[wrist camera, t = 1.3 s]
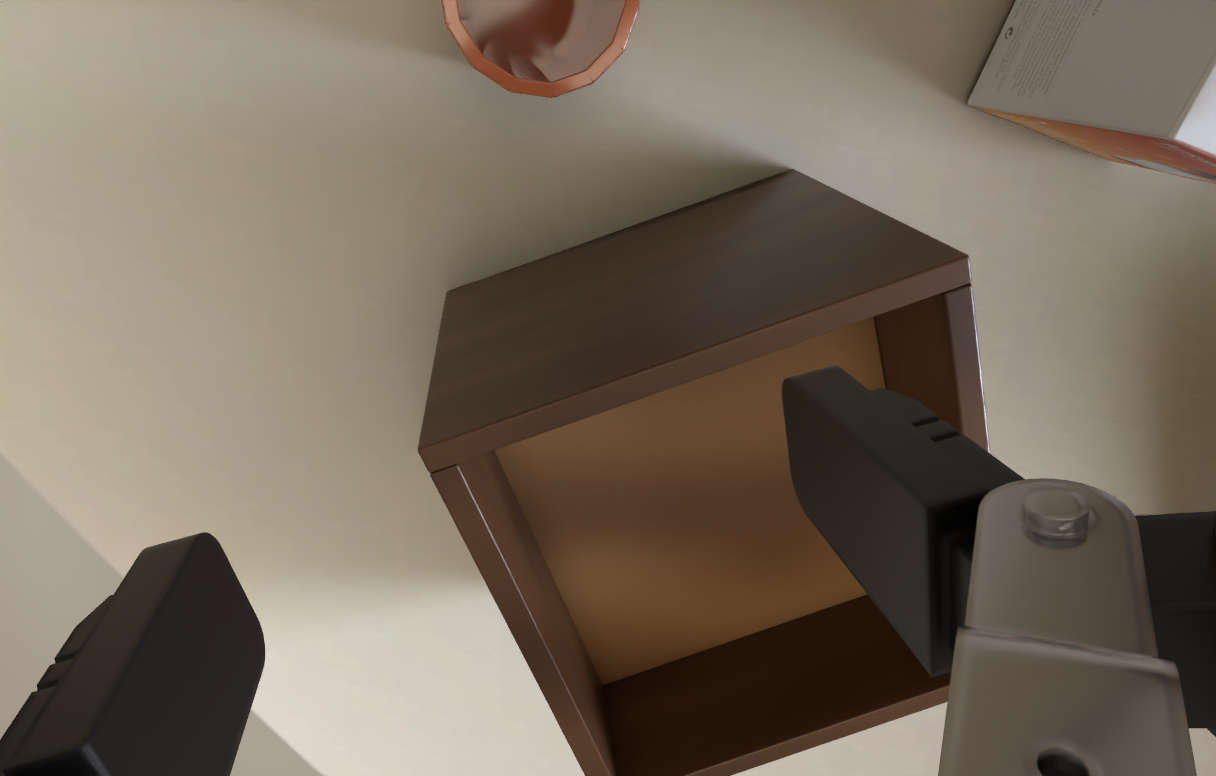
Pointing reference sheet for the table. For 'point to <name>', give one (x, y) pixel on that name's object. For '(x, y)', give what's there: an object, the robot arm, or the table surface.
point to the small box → (1111, 79)
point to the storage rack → (692, 469)
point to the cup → (541, 40)
